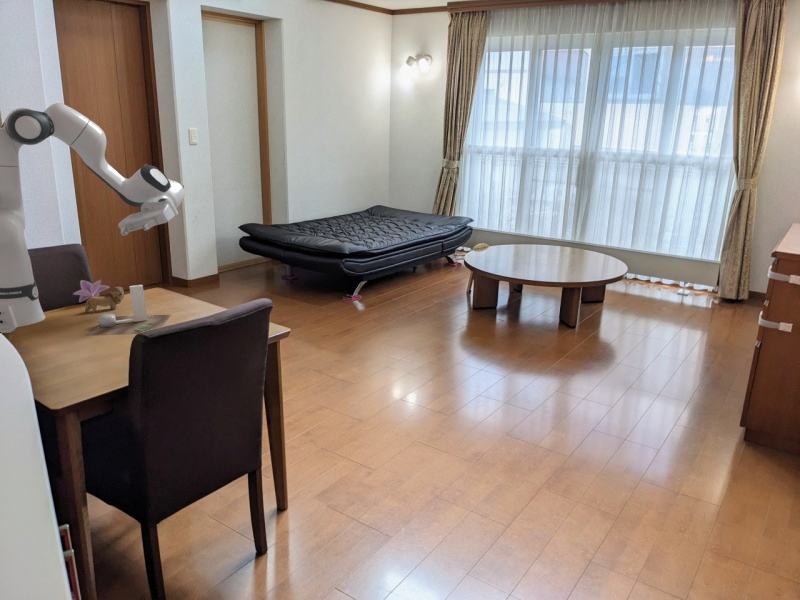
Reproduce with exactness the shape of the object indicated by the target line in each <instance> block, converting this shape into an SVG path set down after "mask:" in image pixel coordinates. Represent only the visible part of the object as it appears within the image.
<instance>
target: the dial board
mask: <svg viewBox="0 0 800 600" xmlns="http://www.w3.org/2000/svg"><path fill="white" fill-rule="evenodd" d="M171 317H172V314H151V315H150V314H149V315H147V320H145V321H138V322H134V321H131V322H124V323H116V325H114V326H111V327H100V326H99V325H97V326H96V327H95V328H94V329H93V330H92V331H91V332H89V333H88V334H87V335H86V336H110V335H111V336H113V335H137V334H138V333H140V332H143V331H147V330H151V329H156V328H159V327H161V328H163V326H164V324H165V323H166V322H168V320H169V319H170V318H171ZM115 318H116V321H119V320H127V319H134V315H126V316H125V315H122V316H121V315H120V316H119V315H118V316H116V315H115Z"/></svg>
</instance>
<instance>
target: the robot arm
mask: <svg viewBox="0 0 800 600" xmlns="http://www.w3.org/2000/svg"><path fill="white" fill-rule="evenodd" d="M106 136H107V135H106V133H105V132H104V130H103V129H102V128H101V127H100V126H99V125H98V124H96V123H95V122H94V121H92V120H91V119H89V118H88V117H87V116H85V114H84V115H83V114H82V113H81V112H79V111H77V110H76V109H74V108H72V107H70V106H68V105H66V104H64V103H61V102H55V103H53V104H50V105H49V106H48V107H47V108H46V109H45V110H44V111H40V110H34V109H33V110H32V109H30V108H26V107H25V108H24V107H22V108H21V107H20V108H15V109H13V110H12V111H11V112H9V114H7V117H6V118H5V120H4V121H3V123H2V125H1V126H0V332H1V333H0V334H13V333H15V331H16V329H17V328H19V327H21V328H22V327H25V326H29V325H33V324H36V323H39V322H42V321H44V320H45V319H46V315H45V314H44V311H43V308H42V306H41V303H40V300H39V291H38V285H37V282H36V280H35V278H34V272H33V268H32V267H33V266H32V261H31V257H30V254H29V250H28V245H27V242H26V239H25V235H24V233H25V232H24V231H25V229H26V219H25V218H26V215H25V209H24V208H25V207H24V202H23V200H24V199H23V194H22V184H21V173H20V160H19V157H20V156H19V154H20V153H19V152H20V150H21V147H22V146H24V145H25V146H26V145H27V146H33V145H35V146H36V145H37V144H40V143H42V142H44V141H45V140H46V139H47V138H50V137H53V138H57V139H59V140H60V141H61V142H63V143H64V144H66V146H69V147H71V148H72V149H73V150H74V152H77V154H78V156H80V159H81V161H82V163H83V164H84V165H85V167H86V168H87V169H88V170H89V171H90V172H91V173H93V174H94V175H95V176H96V177H98V178H99V179H100V181H102V182H103V183H105V185H107V186H108V187H109V188H110V189H111V190H113V191H114V192H115V194H117V195H118V197H119V198H120V199H121V200H122V201H123V202H124V203H125V204H127V205H128V206H131V207H134V208H140V211H139V212H135V213H131V214H129V215H128V216H126V217H125V218H123V219H122V220H121V221H119V222H118V225H117V227H118V228H119V229H120V234H121V236H122V237H123V236H124V237H125V236H128V234H130V232H134V231H139V230H142V229H143V231H149V230H150V229H152V228H153V227H154V226H158V225H163V224H166V223H168V222H170V221H171V220H172V219H173V218H174V217H177V216H178V215H179V212H178V210H177V208H178V207H179V206H180V205H181V204H182V202H183V200H184V198H185V190H184V187H183V186H182V184H181V183H179V182H178V181H175V180H172V179H169V178H168V177H167V176H166V174H165V173H164V172H163V170H161V169H160V168H158V167H156V166H153V165H149V164H144V165H142V167H140V168H139V169H138V170H137V171H136V172H135V173H134V174H132V175H131V176H130V177H129V178H126V177H124V176H122V175H121V174H120V173H119V172H118V171H117V170H116V169H115V168H114V167H113V166H112V165H110V164H109V163H108V161H107V160H106V156H105V155H106V154H105V153H106V150H107V137H106Z"/></svg>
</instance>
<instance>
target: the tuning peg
mask: <svg viewBox="0 0 800 600" xmlns="http://www.w3.org/2000/svg"><path fill="white" fill-rule="evenodd" d="M144 292H145V291H144V285H143V284H136V285H130V286H129V293H130V294H129V295H130V299H131V300H130V301H131V305H132V306H131V307H132V314H133V315H132V316H134V319H127V320H119V321H116V318H115V316H116V314H114V313H103V314H101V315H98V316H97V319H98V324H99V325H98V326H100V327H111V326H114V325H116V323H124V322H131V321H134V322H138V321H145V320H147V307H146V301H145V300H146V299H145V293H144Z"/></svg>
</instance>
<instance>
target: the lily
mask: <svg viewBox="0 0 800 600" xmlns="http://www.w3.org/2000/svg"><path fill="white" fill-rule="evenodd" d="M101 283H102V279H99V280H97V281H95V282H93V283H92V282H90V281H87V280H83V279H81V280H80V281H79V285H80V289H79V290H77V291H75V292H73V293H72V295H74V296H79V299H78V302H79V303H82V302H84V301H87V300H88V299H89V298H91V297H100V293H101V292H103V291H106V290H108V289H110V288H111V287H110V285H105V284H101Z"/></svg>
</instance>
